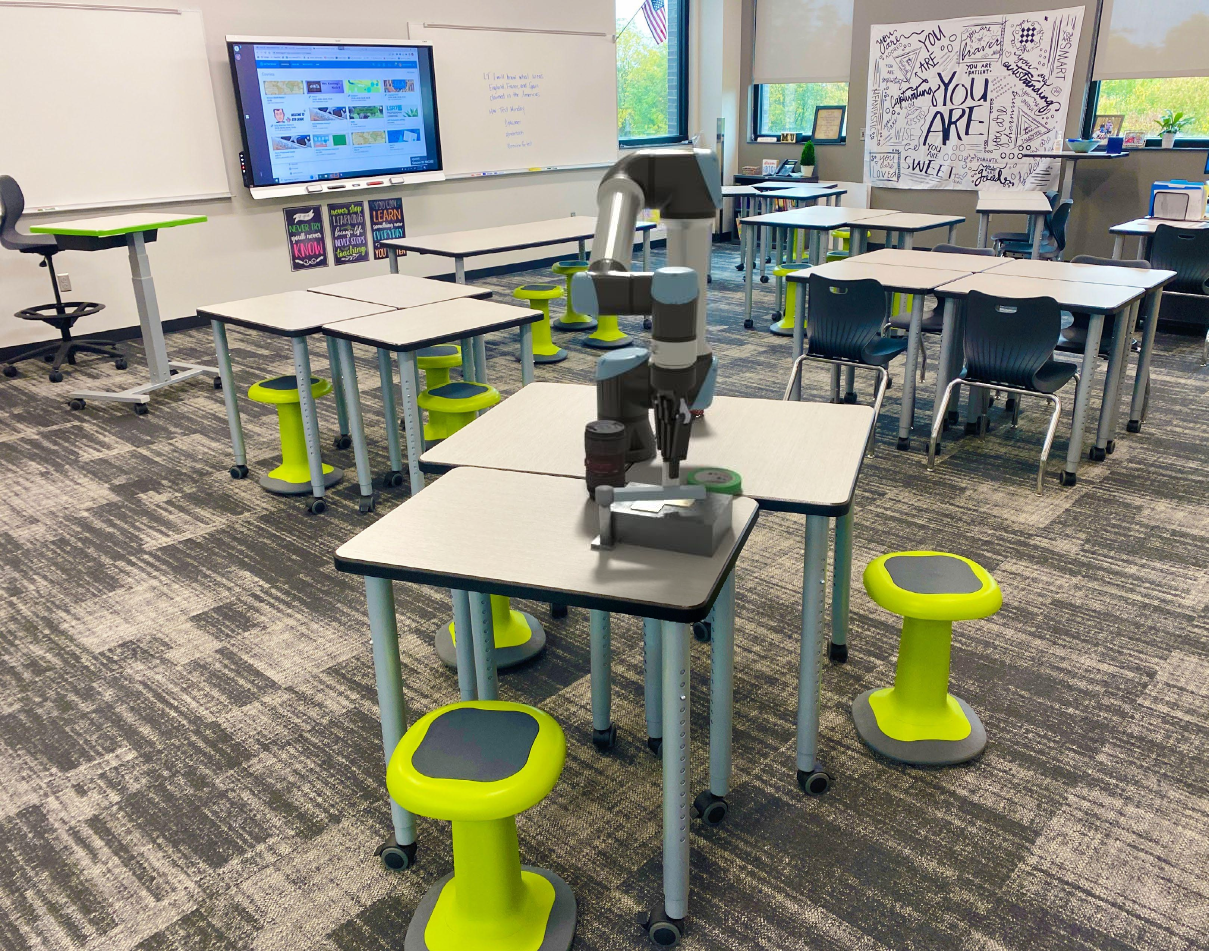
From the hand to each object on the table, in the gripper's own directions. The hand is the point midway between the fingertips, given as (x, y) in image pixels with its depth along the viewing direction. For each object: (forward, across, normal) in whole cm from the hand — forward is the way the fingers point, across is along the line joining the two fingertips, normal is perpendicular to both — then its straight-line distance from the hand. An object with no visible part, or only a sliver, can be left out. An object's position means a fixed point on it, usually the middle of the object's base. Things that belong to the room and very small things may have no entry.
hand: (670, 493), depth 156 cm
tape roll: (+9, -18, +18) cm, 27 cm away
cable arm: (0, +1, -4) cm, 4 cm away
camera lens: (+9, -22, -4) cm, 24 cm away
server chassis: (+9, -1, -1) cm, 9 cm away
